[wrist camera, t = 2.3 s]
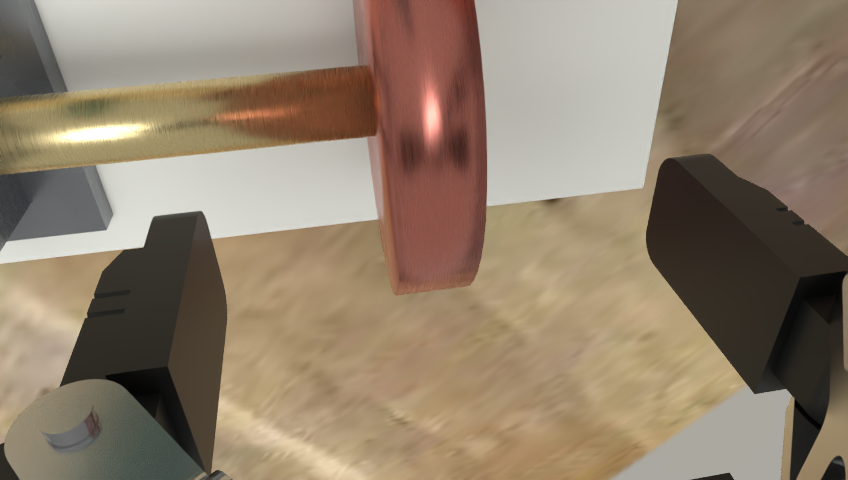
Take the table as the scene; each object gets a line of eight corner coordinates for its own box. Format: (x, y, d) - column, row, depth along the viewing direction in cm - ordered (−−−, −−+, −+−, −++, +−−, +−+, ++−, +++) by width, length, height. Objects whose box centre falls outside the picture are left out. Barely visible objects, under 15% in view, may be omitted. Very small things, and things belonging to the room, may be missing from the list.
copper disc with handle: (404, -147, 18) (494, -92, 10) (418, 171, 24) (482, 370, 16) (-318, -108, 16) (-953, 1, 8) (-111, 229, 22) (-352, 492, 14)
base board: (706, -247, 19) (724, -248, 18) (632, 175, 27) (642, 187, 26) (-292, -209, 16) (-324, -208, 15) (-38, 253, 24) (-49, 269, 23)
